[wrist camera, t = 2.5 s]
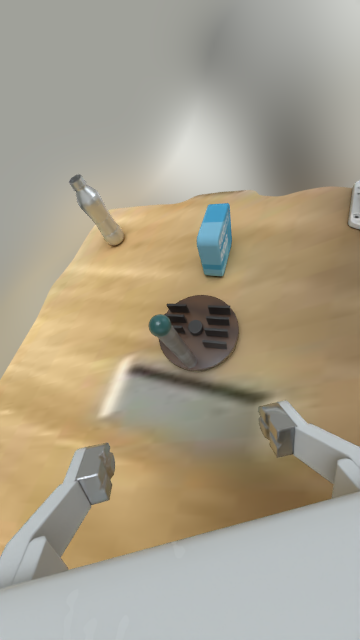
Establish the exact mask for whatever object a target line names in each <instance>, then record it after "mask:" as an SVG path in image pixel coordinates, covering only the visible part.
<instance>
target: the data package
mask: <svg viewBox="0 0 360 640" xmlns="http://www.w3.org/2000/svg"><path fill="white" fill-rule="evenodd" d="M231 243H232V236H231V220H230V206H229V204H228V203H225V204H210V205H208V207H207V210H206V213H205V216H204V219H203V222H202V225H201V227H200V230H199V233H198V236H197V247H198V251H199V255H200V259H201V263H202V267H203V270H204V274H205V275H212V276H223V275H224V272H225V268H226V264H227V260H228V256H229V252H230V248H231Z"/></svg>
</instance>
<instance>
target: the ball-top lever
mask: <svg viewBox="0 0 360 640" xmlns="http://www.w3.org/2000/svg"><path fill="white" fill-rule="evenodd" d="M167 307H168V308H169V310H168V312H167V313H166V314H164V315H161V314H159V315H155V316H154V317H152V318H151V320H150V322H149V330H150V332H151V333H152V334H153V335H154V336H157V337H158V338H159V342H160V346H161V349H162V351H163V353H164V354H165V356H166V357H167V358H168V359H169V360H170V361H171V362H172V363H174V364H175V365H177V366H178V367H180V368H183V369H186V370H191V371H202V370H207V369H210V368H213V367H215V366H217V365H219V364H220V363H222V362H223V361H224V360H226V359H227V358H228V357H229V355H230V354H231V353H232V351H233V350H234V348H235V346H236V343H237V340H238V334H239V327H238V321H237V318H236V316H235V314H234V312H233V310H232V309H231V308H230V306H228V305H227V304H226V303H225V302H223V301H222V300H220V299H218V298H215V297H212V296H206V295H197V296H192V297H188V298H185V299H183V300H181V301H179V302H178V303H176V304H167Z"/></svg>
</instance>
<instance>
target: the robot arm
mask: <svg viewBox="0 0 360 640" xmlns="http://www.w3.org/2000/svg"><path fill="white" fill-rule="evenodd" d="M348 225H349V226H351V227H353V228H356V229H360V180H359V181H357V182H355V184H354V186H353V190H352V198H351V205H350V213H349V220H348ZM258 412H259V414H260V417H259V425H260V429H261V431H262V433H263V435H264V437H265V438H267V439H268V440H270V447H271V448H272V450H273V452H274V453H275V455H276V457H277V458H278V457H283V456H287V455H292V454H294V456H296V457H297V458H298V459H300V460H301V461H302V462H304V463H305V464H306V465H308V466H309V467H311V468H312V469H313V470H315V471H316V472H317V473H319V474H320V475H321V476H323V477H324V478H325V479H327V480H328V481H330V482H331V483H332V484H334V486H333V492H332V499H329V500H325V501H322V502H318V503H314V504H311V505H307V506H303V507H300V508H296V509H292V510H289V511H285V512H281V513H277V514H274V515H270V516H266V517H263V518H259V519H255V520H251V521H248V522H244V523H240V524H236V525H233V526H229V527H225V528H222V529H218V530H214V531H211V532H207V533H203V534H199V535H196V536H192V537H188V538H185V539H181V540H177V541H174V542H170V543H166V544H163V545H159V546H155V547H151V548H148V549H144V550H140V551H137V552H133V553H129V554H126V555H122V556H118V557H115V558H111V559H107V560H103V561H100V562H96V563H92V564H89V565H85V566H81V567H78V568H74V569H70V570H69V569H68V567H67V565H66V564H65V563H64V561H63V560H62V559H61V556H62V554H63V553H64V551H65V549H66V548H67V546H68V544H69V543H70V541H71V540H72V538H73V536H74V535H75V533H76V531H77V530H78V528H79V526H80V525H81V523H82V521H83V520H84V518H85V516H86V515H87V513H88V511H89V510H90V508H91V505H94V504H97V503H101V502H104V501H108V500H110V494H111V488H112V483H111V480H110V479H111V478H112V476H113V475H114V471H115V459H114V455H113V453H111V452H109V451H110V446H109V444H108V443H103V444H98V445H94V446H89V447H85V448H80V449H77V450H76V452H75V453H74V456H73V459H72V461H71V464H70V466H69V469H68V471H67V474H66V477H65V479H64V482H63V484H61V485H59V486H58V487H57V488H56V489H55V490H54V492H53V493H52V494H51V495H50V496H49V497H48V498H47V499H46V501H45V502H44V503H43V504H42V505H41V506H40V507H39V508H38V510H37V511H36V512H35V513H34V514H33V515H32V516H31V517H30V519H29V520H28V521H27V522H26V523H25V524H24V525H23V526H22V528H21V529H20V530H19V531H18V532H17V533H16V534H15V535H14V537H13V538H12V539H11V540H10V541H9V542H8V543H7V545H6V547H5V549H4V551H3V553H2V555H1V557H0V640H360V447H359V446H356V445H354V444H352V443H350V442H348V441H346V440H344V439H342V438H340V437H338V436H336V435H334V434H332V433H330V432H327V431H325V430H323V429H321V428H319V427H317V426H315V425H313V424H307V422H306V421H305V420H304V419H303V418H302V417H301V416H300V415H299V413H298V412H297V411H296V410H295V409H294V408H293V407H292V406H291V404H290V403H289V402H288V401H286V400H285V401H280V402H277V403H272V404H268V405H264V406H260V407H259V408H258Z"/></svg>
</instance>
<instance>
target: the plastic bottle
mask: <svg viewBox="0 0 360 640" xmlns="http://www.w3.org/2000/svg"><path fill="white" fill-rule="evenodd" d="M69 183H70V185H71V186H72V188H73V190H74V191H76V195H77V202H78V204H79V206H80V207H81V209H82V210H83V211H84V212H85V213H86V214H87V215H88V216H89V217H90V218H91V219H92V220H93V222H94V223H95V224H96V225H97V227H98V229H99V230H100V232H101V233H102V235H103V237H104V239H105V241H106V242H107V243H108V244H110V245H118V244H119V243H121V242H122V240H123V238H124V233H123V231H122V229H121V228H120V226H119V225H118V224H117V223H116V222H115V221H114V219H113V218H112V217H111V215H110V214H109V212H108V210H107V209H106V207H105V205H104V203H103V201H102V198H101V196H100V195H99V193H98V192H97V191H96V190H95V189H93V188H92V187H90V186H88V185H86V181H85V180H84V179H83V178H82V176H81V175H75V176H74V177H72V178H71V179H70V181H69Z"/></svg>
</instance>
